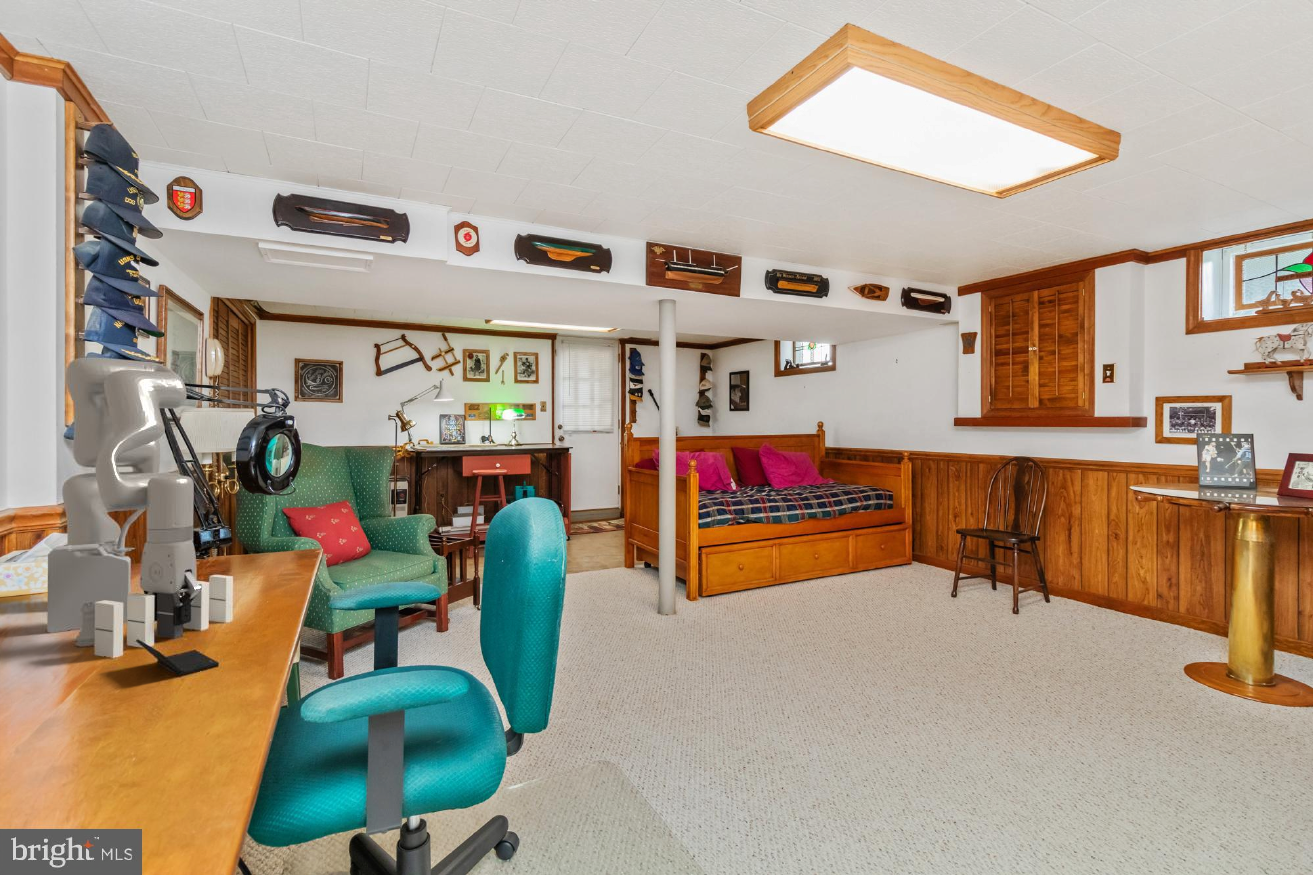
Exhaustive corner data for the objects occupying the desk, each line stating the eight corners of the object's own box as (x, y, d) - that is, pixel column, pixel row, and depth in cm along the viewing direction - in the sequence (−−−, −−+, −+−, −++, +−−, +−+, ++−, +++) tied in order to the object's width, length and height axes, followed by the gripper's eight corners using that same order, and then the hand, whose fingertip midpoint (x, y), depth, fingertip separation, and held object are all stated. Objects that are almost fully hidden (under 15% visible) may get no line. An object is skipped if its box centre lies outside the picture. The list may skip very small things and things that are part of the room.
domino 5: (215, 618, 138) (216, 574, 138) (232, 620, 137) (233, 576, 136) (208, 620, 136) (209, 576, 136) (225, 622, 135) (226, 578, 135)
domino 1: (104, 651, 117) (104, 600, 117) (123, 655, 115) (123, 602, 115) (94, 654, 115) (94, 602, 115) (113, 658, 114) (113, 605, 114)
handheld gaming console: (231, 654, 113) (191, 620, 108) (199, 689, 108) (155, 656, 102) (195, 652, 118) (155, 620, 113) (162, 686, 112) (119, 654, 107)
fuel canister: (145, 615, 139) (146, 506, 139) (143, 620, 135) (144, 508, 135) (52, 627, 130) (52, 510, 130) (47, 633, 126) (48, 513, 126)
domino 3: (174, 638, 124) (175, 590, 124) (156, 636, 126) (157, 588, 126) (182, 636, 126) (183, 588, 126) (164, 633, 127) (165, 586, 127)
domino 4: (191, 625, 133) (191, 580, 133) (208, 628, 131) (209, 582, 131) (183, 628, 131) (184, 581, 131) (201, 630, 130) (201, 583, 130)
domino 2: (135, 642, 122) (136, 592, 122) (154, 645, 121) (154, 595, 121) (126, 645, 121) (127, 594, 120) (145, 648, 119) (145, 597, 119)
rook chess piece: (87, 648, 118) (87, 607, 118) (69, 646, 119) (69, 605, 119) (111, 640, 123) (112, 601, 123) (94, 638, 124) (94, 599, 124)
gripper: (120, 535, 124) (119, 623, 125) (182, 541, 120) (182, 632, 120) (159, 530, 132) (158, 612, 132) (219, 535, 127) (218, 621, 127)
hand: (169, 621), depth 126 cm, fingers open, 6 cm apart
